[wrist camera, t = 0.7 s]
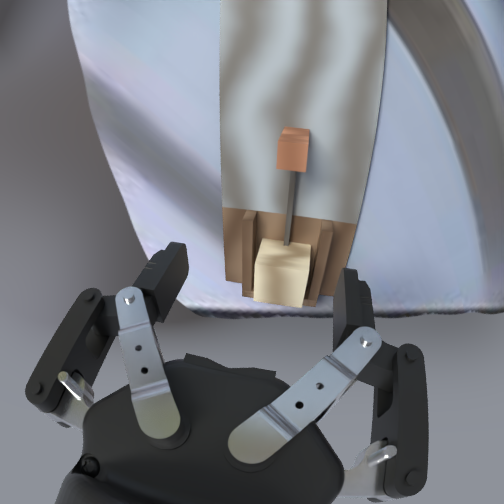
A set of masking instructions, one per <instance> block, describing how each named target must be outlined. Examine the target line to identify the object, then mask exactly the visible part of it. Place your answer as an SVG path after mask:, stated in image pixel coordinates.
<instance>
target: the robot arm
mask: <svg viewBox="0 0 504 504" xmlns="http://www.w3.org/2000/svg"><path fill="white" fill-rule="evenodd" d="M188 272H189V264H188V257H187V249H186V245H185V244H184V243H177V242H170V243H169V245H168V246H167V248H166V249H165V250H160V251H158V252H157V253H156V254H154V255H153V256H152V258H151V259H150V261H149V263H147V265H146V266H145V268H144V269H143V271H142V272H141V274H140V275H139V277H138V278H137V280H136V281H135V283H134V284H133V285H132V287H127V288H124V289H122V290H121V291H120V292H118V294H117V295H115V296H114V295H113V296H102V294H101V292H100V290H98V289H96V288H90V289H86V290H85V291H83V292H82V293H81V294H80V295H79V296H78V298H77V299H76V301H75V303H74V304H73V305H72V307H71V308H70V310H69V311H68V313H67V315H66V316H65V318H64V319H63V321H62V323H61V324H60V326H59V327H58V329H57V331H56V333H55V334H54V336H53V337H52V339H51V341H50V343H49V344H48V346H47V348H46V350H45V351H44V353H43V355H42V356H41V358H40V360H39V362H38V364H37V366H36V368H35V369H34V371H33V373H32V375H31V377H30V379H29V381H28V383H27V385H26V389H25V394H26V397H27V399H28V400H29V401H30V402H31V403H32V404H33V405H35V406H36V407H37V408H38V409H39V410H40V411H41V412H42V413H43V414H45V415H46V416H47V417H49V418H50V419H52V420H53V421H55V422H57V423H58V424H60V425H61V426H63V427H66V428H69V427H73V428H75V429H77V430H79V431H81V432H83V450H82V455H81V458H80V460H79V461H78V463H77V464H76V465H75V467H74V468H73V469H72V470H71V471H70V472H69V473H68V475H67V476H66V477H65V479H64V481H63V483H62V486H61V488H60V491H59V494H58V497H57V499H56V502H55V504H331V503H332V502H333V501H334V500H335V498H336V497H345V498H367V499H368V500H369V501H372V502H383V501H388V500H393V499H399V498H403V497H408V496H412V495H415V494H417V493H418V492H419V491H421V489H422V488H423V487H424V485H425V483H426V480H427V469H428V439H429V437H428V436H429V435H428V434H429V432H428V431H429V430H428V399H427V386H426V385H427V384H426V373H425V364H424V356H423V353H422V351H421V350H420V349H419V348H418V347H417V346H415V345H413V344H404V345H401V346H400V347H399V348H397V347H394V346H392V345H389V344H387V343H385V342H384V341H382V340H381V337H380V335H379V333H378V332H377V331H376V330H375V322H374V314H373V306H372V299H371V292H370V288H369V287H368V285H367V283H366V282H365V281H360V280H358V273H357V270H355V269H349V268H342V269H341V272H340V275H339V279H338V282H337V285H336V288H335V292H334V299H333V353H332V354H331V355H330V356H325V357H324V358H322V359H321V360H320V361H319V362H318V363H317V364H316V365H315V366H314V367H313V368H312V369H311V370H309V371H308V372H307V373H306V374H305V375H304V376H303V377H302V378H301V379H300V380H298V381H297V382H296V383H295V384H294V385H292V386H291V387H290V386H289V385H288V384H286V383H285V382H284V381H282V380H280V379H277V378H275V375H276V371H270V370H264V369H258V368H227V367H225V366H222V365H220V364H218V363H216V362H214V361H212V360H210V359H208V358H204V357H200V356H196V355H192V354H188V353H186V355H185V358H184V359H177V360H172V361H169V362H166V363H165V360H164V358H163V355H162V352H161V349H160V346H159V343H158V339H157V336H156V333H155V329H154V324H155V322H156V321H158V322H161V323H164V320H165V319H166V317H167V315H168V313H169V311H170V309H171V307H172V305H173V303H174V301H175V299H176V297H177V295H178V293H179V292H180V290H181V288H182V286H183V284H184V282H185V280H186V278H187V276H188ZM116 336H119V340H120V345H121V350H122V355H123V359H124V364H125V368H126V373H127V377H128V380H129V384H128V385H126V386H124V387H122V388H121V389H119V390H117V391H115V392H114V393H112V394H110V395H108V396H107V397H105V398H103V399H101V400H99V401H98V402H96V403H94V402H93V399H94V391H93V389H92V385H93V383H94V381H95V379H96V376H97V374H98V372H99V370H100V368H101V366H102V364H103V361H104V359H105V357H106V355H107V353H108V351H109V349H110V347H111V345H112V343H113V341H114V339H115V337H116ZM357 380H359V381H361V382H364V383H366V384H369V385H372V386H374V403H373V404H374V405H373V421H372V432H371V443H370V446H368V447H367V448H365V449H363V450H362V451H360V453H359V454H358V455H357V457H356V460H355V463H354V465H353V466H352V467H351V468H350V469H349V470H344V468H343V465H342V462H341V461H340V459H339V458H338V456H337V455H336V453H335V452H334V450H333V449H332V447H331V446H330V444H329V443H328V441H327V440H326V438H325V437H324V435H323V434H322V432H321V430H320V429H319V427H318V426H317V423H318V422H319V421H320V420H321V419H322V418H323V417H324V416H325V415H326V414H327V413H328V412H329V411H330V410H331V409H332V408H333V407H334V406H335V404H336V403H337V402H338V401H339V400H340V399H341V398H342V397H343V396H344V395H345V393H346V392H347V391H348V390H349V389H350V388H351V387H352V386H353V385H354V384H355V382H356V381H357Z"/></svg>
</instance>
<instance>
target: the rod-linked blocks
mask: <svg viewBox="0 0 504 504" xmlns="http://www.w3.org/2000/svg"><path fill="white" fill-rule="evenodd" d="M309 130H310V129H303V128H294V127H284V129H283V131H282V133H281V136H280V138H279V140H278V147H277V165H276V169H281V170H290V181H289V193H288V204H287V214H286V225H285V235H284V241H279V240H272V239H264V238H262V242H261V245H260V248H259V252H258V255H257V258H256V261H255V273H254V301H258V302H264V303H271V304H277V305H284V306H291V307H298V308H302V304H303V299H304V294H305V289H306V285H307V280H308V274H309V266H310V250H311V245H309V244H301V243H294V242H289V237H290V229H291V219H292V210H293V201H294V191H295V180H296V171H298V172H306V164H307V154H308V144H309Z"/></svg>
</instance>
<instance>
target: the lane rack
mask: <svg viewBox="0 0 504 504" xmlns="http://www.w3.org/2000/svg"><path fill="white" fill-rule="evenodd" d="M386 25H387V0H220V145H221V182H222V210H223V234H224V255H225V274H226V281H231V282H238V283H242V296H244V297H250V298H254V273H255V261H256V258H257V255H258V252H259V248H260V245H261V242H262V238H264V239H272V240H279V241H284V235H285V225H286V214H287V204H288V193H289V181H290V170H281V169H276V165H277V147H278V140H279V138H280V136H281V133H282V131H283V129H284V127H294V128H303V129H310V130H309V144H308V154H307V164H306V172H298V171H296V180H295V191H294V201H293V210H292V219H291V229H290V237H289V242H294V243H301V244H309V245H311V250H310V266H309V274H308V280H307V285H306V289H305V294H304V299H303V304H302V305H304V306H311V307H315V306H316V303H317V299H318V295H319V294H320V295H328V296H334V292H335V288H336V285H337V282H338V279H339V275H340V272H341V269H342V268H345V267H346V264H347V260H348V257H349V253H350V249H351V246H352V242H353V238H354V234H355V230H356V226H357V222H358V218H359V214H360V210H361V205H362V201H363V196H364V192H365V187H366V182H367V177H368V172H369V167H370V162H371V157H372V151H373V146H374V140H375V133H376V127H377V120H378V114H379V106H380V98H381V90H382V81H383V71H384V59H385V45H386Z"/></svg>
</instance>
